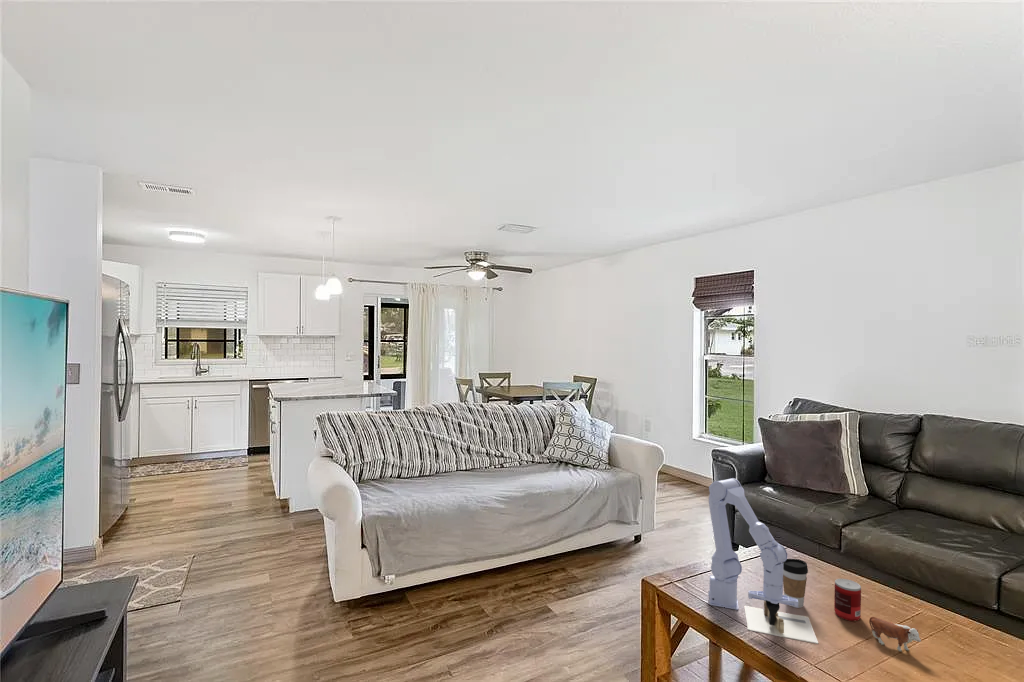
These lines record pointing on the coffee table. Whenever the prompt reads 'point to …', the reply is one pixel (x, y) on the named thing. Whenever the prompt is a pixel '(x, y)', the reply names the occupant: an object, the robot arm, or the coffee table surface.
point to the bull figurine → (894, 632)
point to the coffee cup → (795, 579)
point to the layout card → (793, 625)
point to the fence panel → (778, 623)
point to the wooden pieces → (765, 609)
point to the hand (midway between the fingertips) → (772, 623)
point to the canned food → (847, 599)
